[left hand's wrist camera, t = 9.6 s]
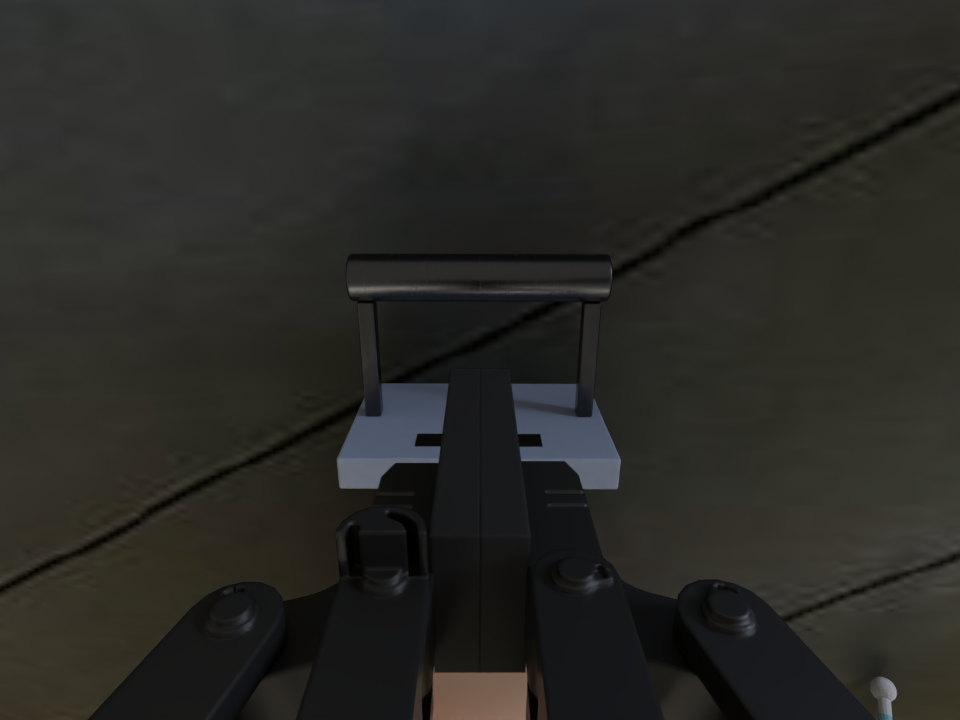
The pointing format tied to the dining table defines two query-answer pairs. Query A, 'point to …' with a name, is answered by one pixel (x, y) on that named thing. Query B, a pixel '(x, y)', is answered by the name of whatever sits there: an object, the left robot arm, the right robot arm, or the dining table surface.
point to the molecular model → (883, 696)
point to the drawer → (421, 407)
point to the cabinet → (479, 696)
